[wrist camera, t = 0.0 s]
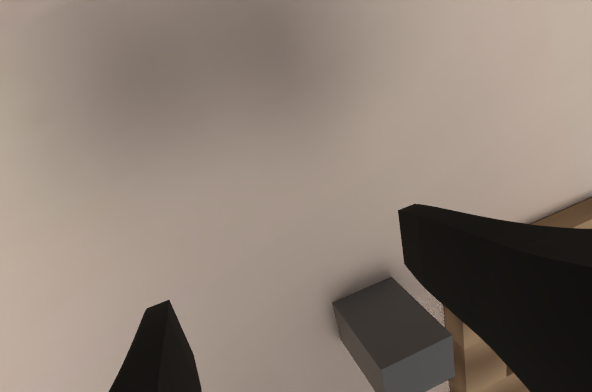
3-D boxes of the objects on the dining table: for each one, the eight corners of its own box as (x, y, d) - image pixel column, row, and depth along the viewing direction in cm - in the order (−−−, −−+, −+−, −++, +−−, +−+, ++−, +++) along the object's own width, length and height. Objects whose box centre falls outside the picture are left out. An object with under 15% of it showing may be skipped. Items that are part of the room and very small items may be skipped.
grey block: (396, 313, 28) (455, 376, 23) (340, 339, 28) (388, 410, 22) (391, 277, 27) (452, 335, 22) (332, 302, 26) (381, 369, 21)
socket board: (574, 362, 39) (604, 383, 37) (453, 429, 36) (476, 458, 33) (593, 196, 31) (631, 210, 29) (440, 263, 28) (469, 285, 26)
